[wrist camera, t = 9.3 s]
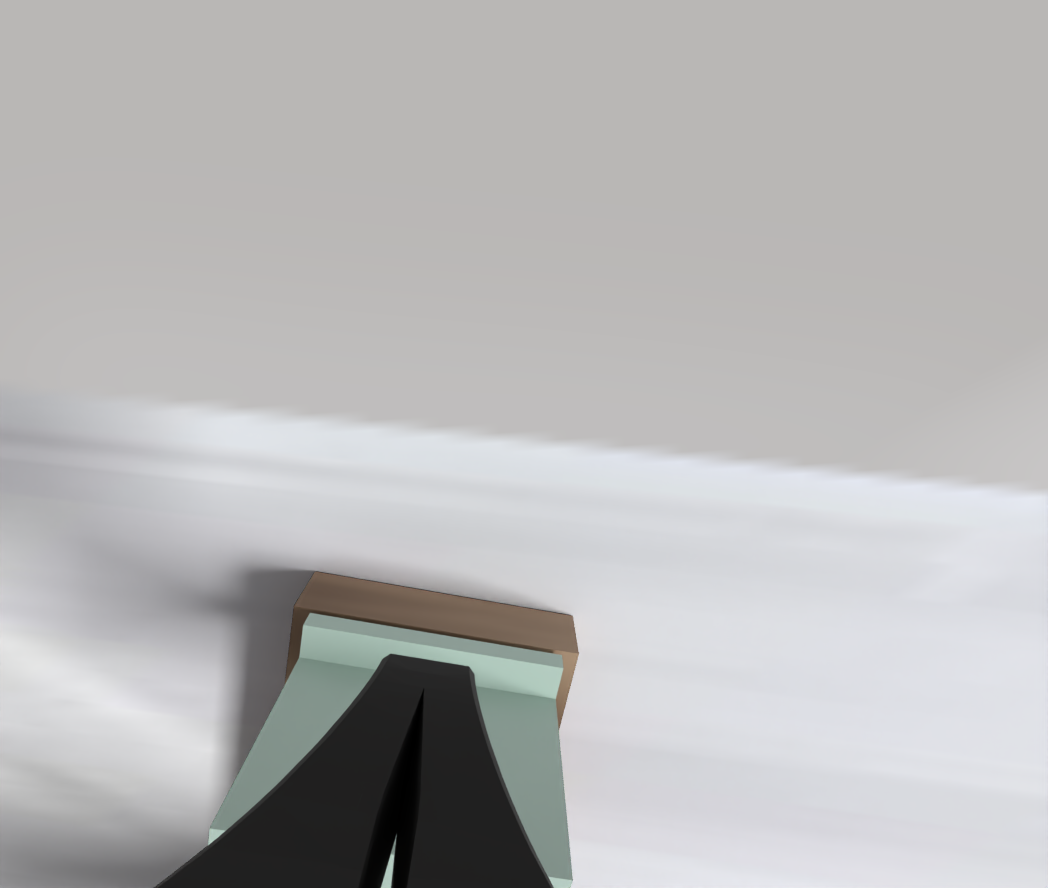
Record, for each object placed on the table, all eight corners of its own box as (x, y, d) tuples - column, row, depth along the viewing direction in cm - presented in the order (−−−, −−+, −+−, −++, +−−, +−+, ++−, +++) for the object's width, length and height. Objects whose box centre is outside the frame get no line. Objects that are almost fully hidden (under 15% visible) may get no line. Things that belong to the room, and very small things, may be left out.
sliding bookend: (543, 728, 19) (556, 937, 13) (300, 689, 19) (204, 888, 13) (562, 654, 18) (584, 840, 13) (310, 612, 18) (213, 785, 12)
